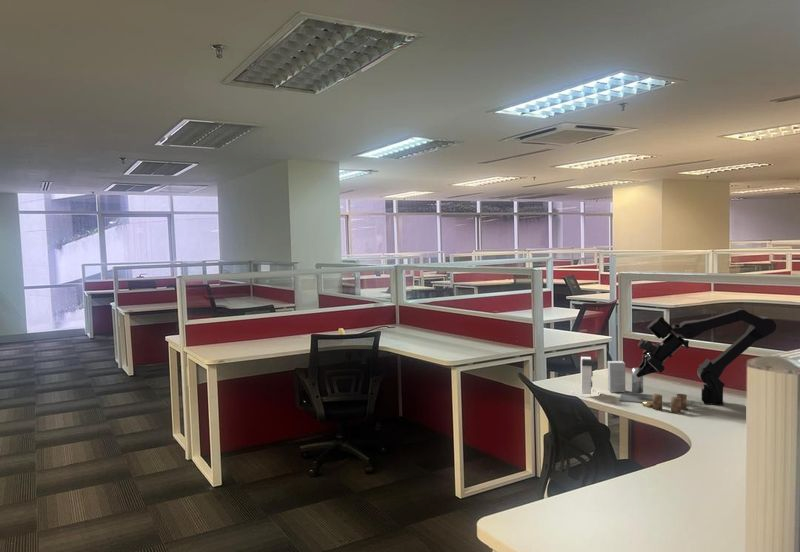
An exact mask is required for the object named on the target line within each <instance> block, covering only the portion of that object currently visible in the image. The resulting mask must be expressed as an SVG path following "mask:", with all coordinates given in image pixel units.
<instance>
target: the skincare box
mask: <svg viewBox="0 0 800 552" xmlns="http://www.w3.org/2000/svg"><path fill="white" fill-rule="evenodd" d="M607 391H609V392H610V393H621V392H625V393H626V363H625V362H624V361H623V360H607Z"/></svg>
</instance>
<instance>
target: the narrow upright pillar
mask: <svg viewBox="0 0 800 552" xmlns="http://www.w3.org/2000/svg"><path fill="white" fill-rule="evenodd" d="M592 361H593V359H592V357H591V354H588V353H587V354H586V353H582V354H580V389H581V390H582V394H591V390H594V389H592V388H593V381H592V377H593V374H594V373H593V365H592ZM571 392H572V390H571V391H570V393H571ZM594 392H598V394H599V393H601V392H600V391H598V390H594Z"/></svg>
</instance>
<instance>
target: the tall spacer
mask: <svg viewBox="0 0 800 552" xmlns="http://www.w3.org/2000/svg"><path fill="white" fill-rule="evenodd" d="M640 369H641V368H638V367H632V368H631V393H637V394H644V376H641V377H637V376H636V375H637V373H638V372H639V371H640Z"/></svg>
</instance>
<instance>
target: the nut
mask: <svg viewBox="0 0 800 552" xmlns="http://www.w3.org/2000/svg"><path fill="white" fill-rule="evenodd" d="M642 407H645V408H653V401H643V403H642Z"/></svg>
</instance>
